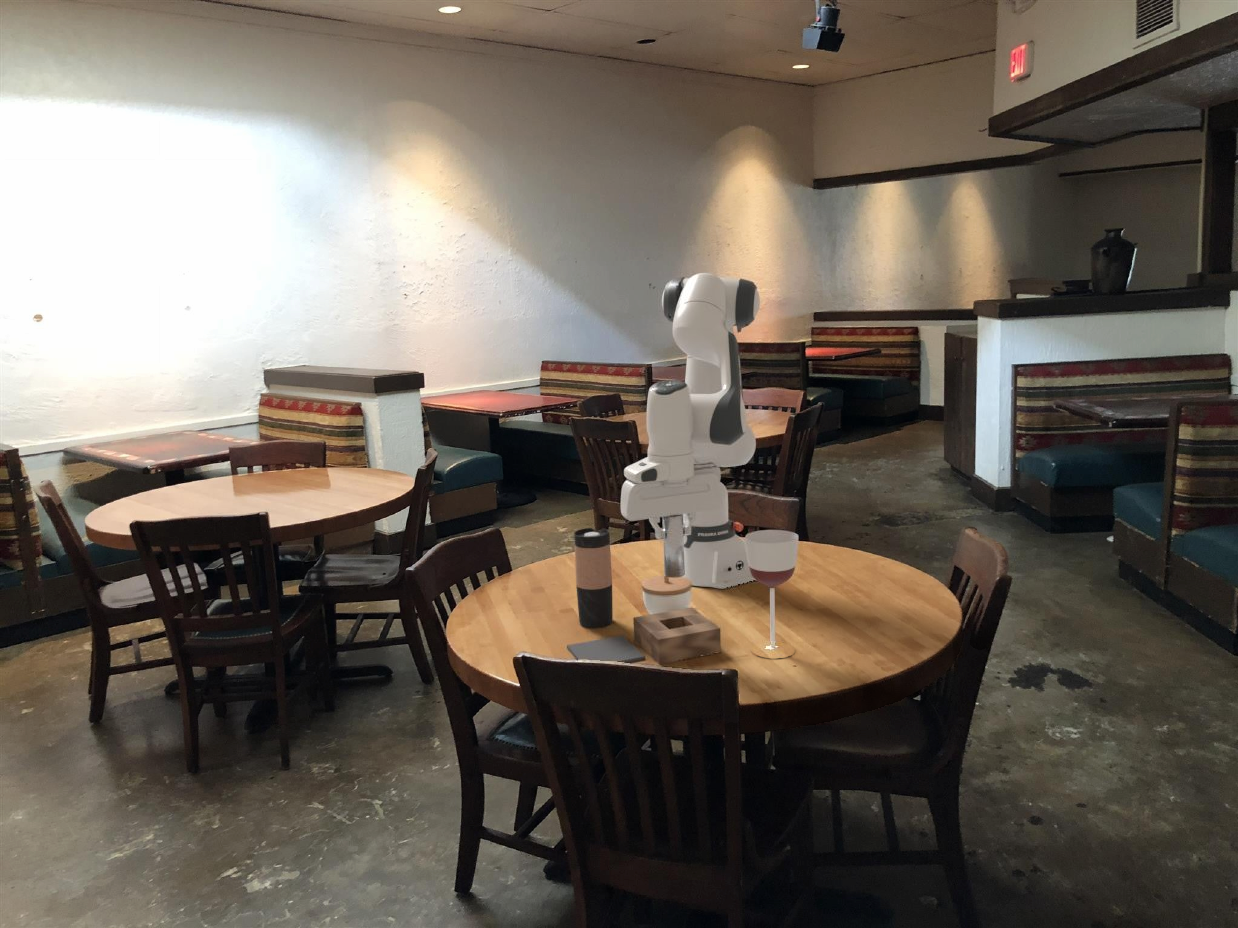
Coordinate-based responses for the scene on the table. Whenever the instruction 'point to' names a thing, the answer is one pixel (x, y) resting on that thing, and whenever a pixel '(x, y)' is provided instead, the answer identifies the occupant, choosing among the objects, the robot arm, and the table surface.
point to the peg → (674, 546)
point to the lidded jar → (666, 593)
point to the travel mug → (593, 577)
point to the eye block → (676, 635)
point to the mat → (607, 650)
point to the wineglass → (772, 563)
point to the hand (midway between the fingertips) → (673, 536)
